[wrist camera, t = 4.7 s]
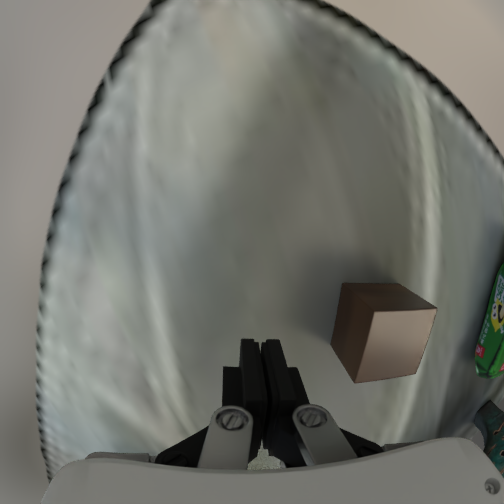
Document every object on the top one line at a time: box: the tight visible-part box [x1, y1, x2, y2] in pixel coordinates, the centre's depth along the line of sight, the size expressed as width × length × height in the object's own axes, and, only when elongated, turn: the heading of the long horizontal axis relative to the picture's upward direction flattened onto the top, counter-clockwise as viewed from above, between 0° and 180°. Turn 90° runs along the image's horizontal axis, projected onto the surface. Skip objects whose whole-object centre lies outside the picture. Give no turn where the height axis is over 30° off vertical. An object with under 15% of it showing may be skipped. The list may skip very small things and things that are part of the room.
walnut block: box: [331, 283, 437, 383], centre depth 17 cm, size 5×5×5 cm
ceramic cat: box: [474, 400, 504, 478], centre depth 17 cm, size 20×6×20 cm, turn 117°
